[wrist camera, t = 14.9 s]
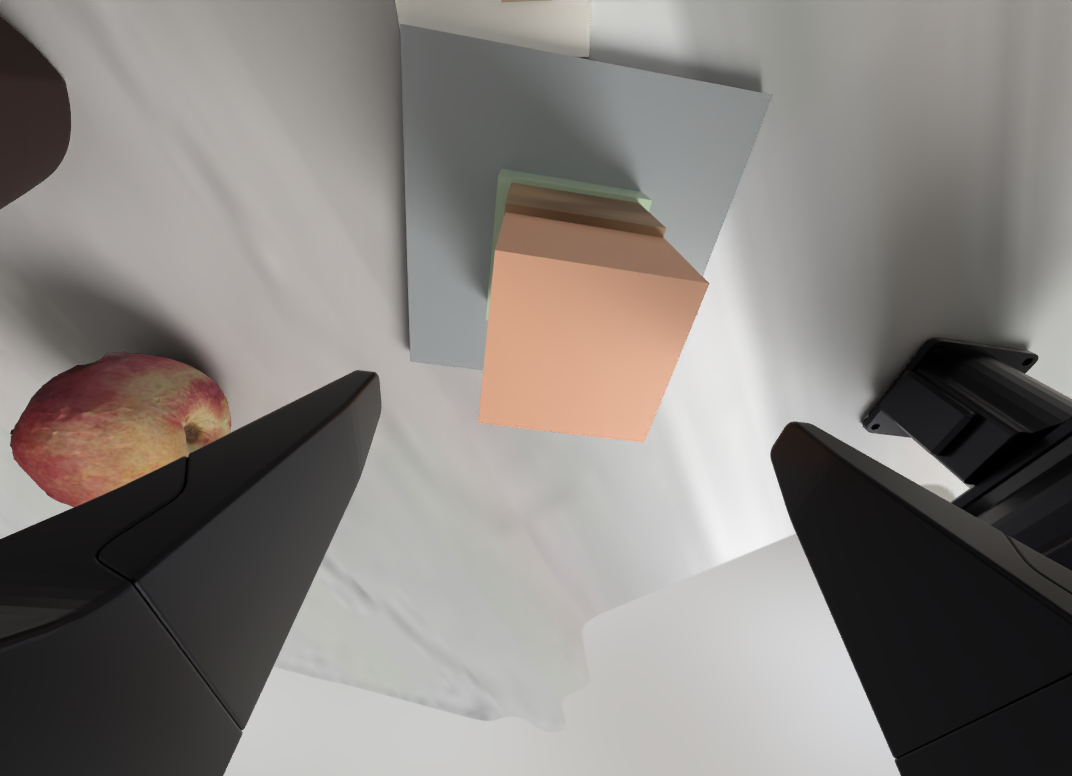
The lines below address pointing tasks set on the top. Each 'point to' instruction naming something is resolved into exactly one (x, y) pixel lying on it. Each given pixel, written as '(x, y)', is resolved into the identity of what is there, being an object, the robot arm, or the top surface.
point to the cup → (29, 116)
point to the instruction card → (507, 21)
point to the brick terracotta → (583, 327)
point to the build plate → (547, 163)
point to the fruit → (115, 424)
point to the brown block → (582, 209)
